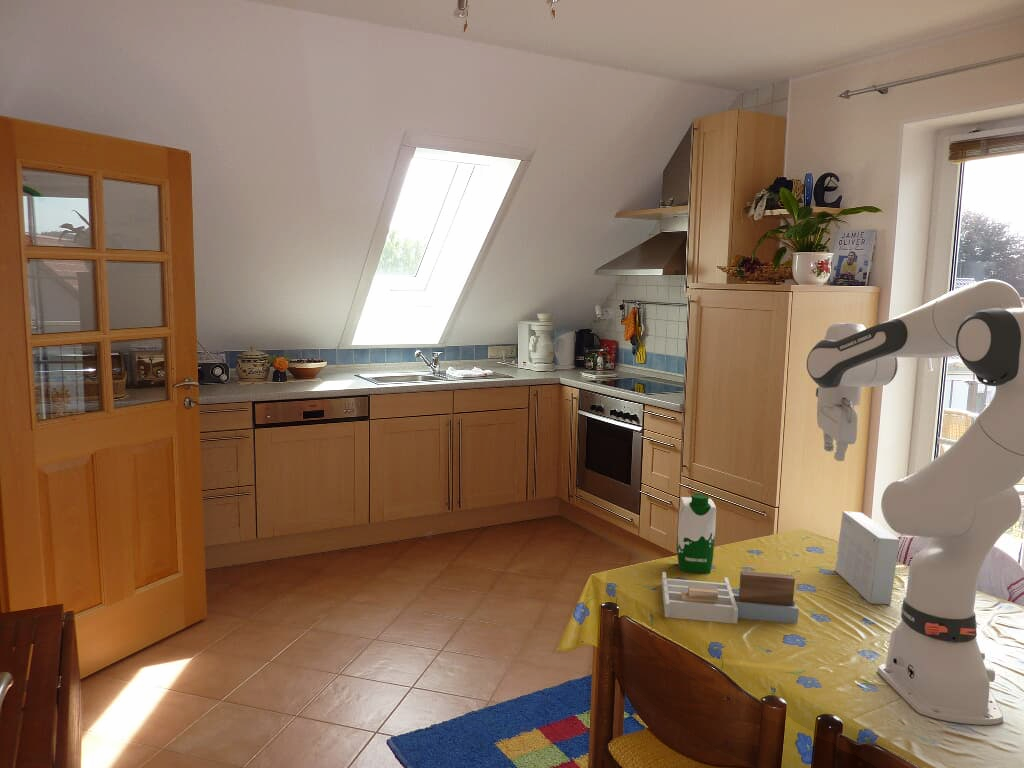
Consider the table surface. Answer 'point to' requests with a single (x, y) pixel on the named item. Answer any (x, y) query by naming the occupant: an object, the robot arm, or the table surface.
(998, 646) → the table surface
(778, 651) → the table surface
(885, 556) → the skincare box
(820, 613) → the table surface
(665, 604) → the rack
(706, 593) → the offcut top
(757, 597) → the walnut sheet
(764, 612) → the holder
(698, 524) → the milk carton
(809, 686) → the table surface
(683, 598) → the offcut mid
